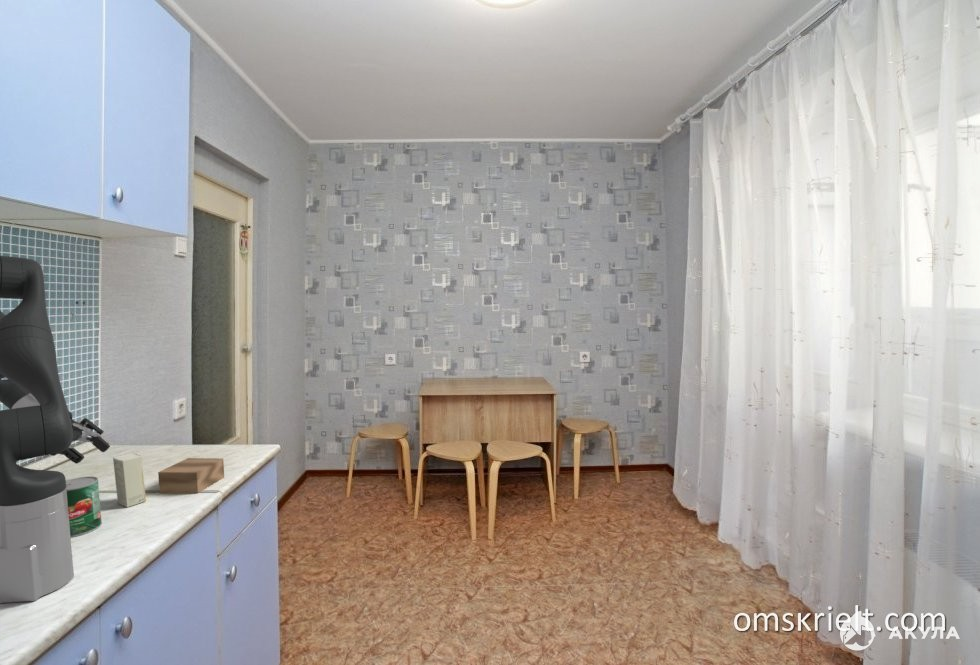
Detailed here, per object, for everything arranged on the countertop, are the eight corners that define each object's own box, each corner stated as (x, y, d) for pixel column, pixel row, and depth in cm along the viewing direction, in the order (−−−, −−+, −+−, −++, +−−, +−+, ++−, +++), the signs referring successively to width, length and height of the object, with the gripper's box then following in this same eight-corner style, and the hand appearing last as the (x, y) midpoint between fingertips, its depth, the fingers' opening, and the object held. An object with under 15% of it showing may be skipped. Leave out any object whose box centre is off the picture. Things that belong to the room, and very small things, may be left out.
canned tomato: (97, 517, 110) (94, 473, 109) (105, 527, 105) (101, 481, 104) (52, 531, 104) (48, 484, 103) (58, 542, 99) (54, 493, 98)
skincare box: (146, 501, 119) (143, 456, 118) (126, 508, 115) (122, 461, 114) (136, 496, 122) (132, 452, 121) (115, 502, 118) (112, 457, 118)
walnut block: (197, 494, 124) (196, 472, 123) (159, 493, 124) (158, 472, 124) (224, 478, 134) (223, 458, 134) (189, 477, 135) (187, 458, 135)
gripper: (26, 408, 108) (82, 453, 110) (75, 396, 122) (124, 436, 124) (4, 431, 108) (60, 476, 110) (56, 416, 122) (105, 456, 124)
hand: (94, 454), depth 117 cm, fingers open, 8 cm apart
